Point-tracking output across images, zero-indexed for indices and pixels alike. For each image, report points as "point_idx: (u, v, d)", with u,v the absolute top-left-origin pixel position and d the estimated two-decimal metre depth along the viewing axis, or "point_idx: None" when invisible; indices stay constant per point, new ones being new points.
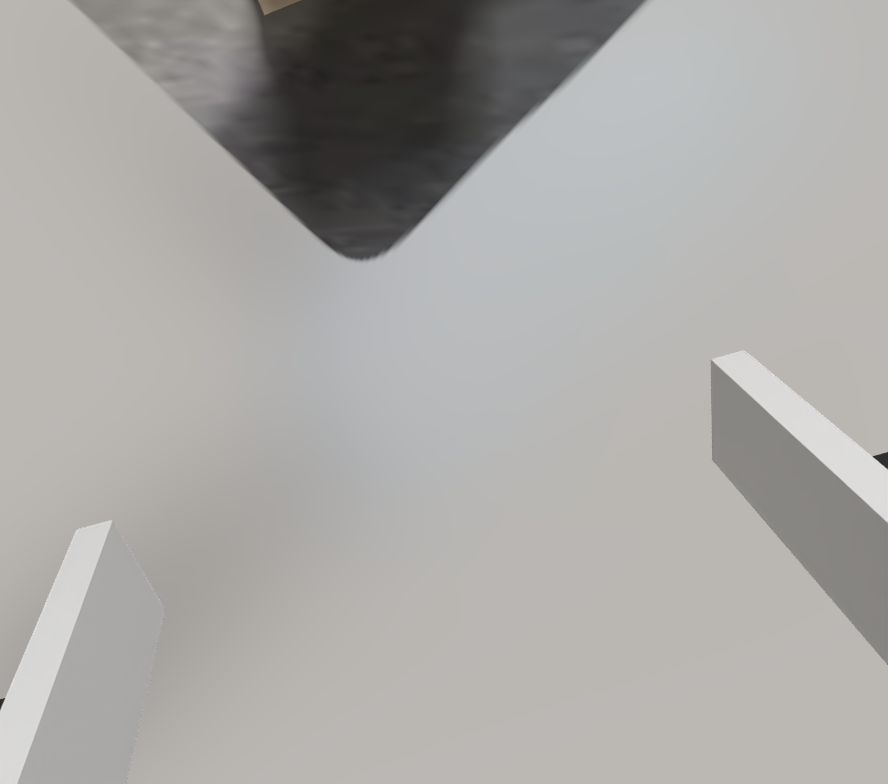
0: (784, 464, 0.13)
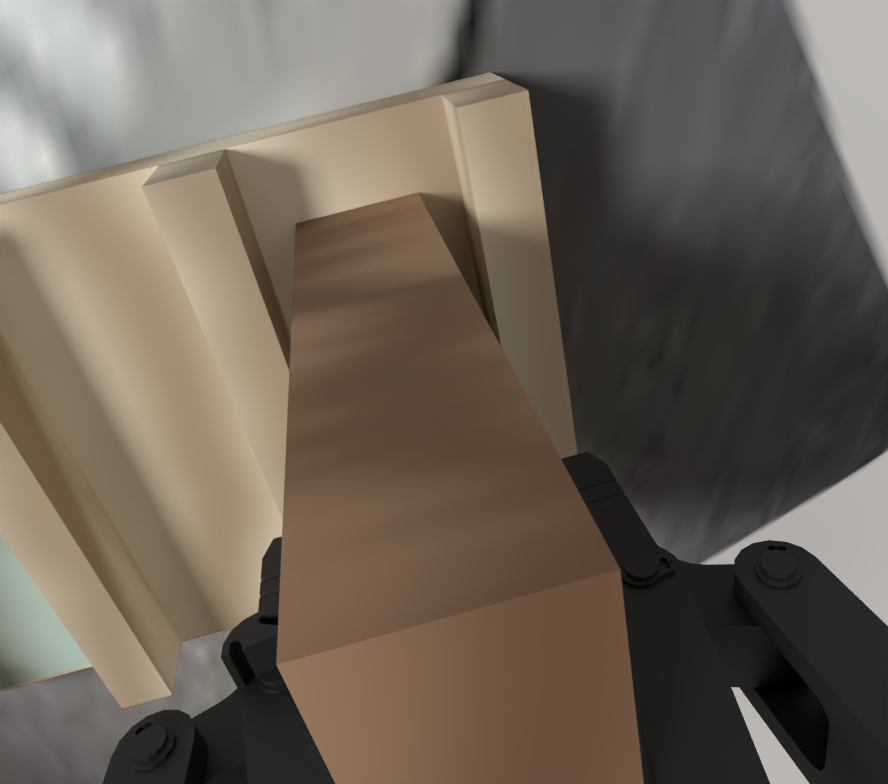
0: None
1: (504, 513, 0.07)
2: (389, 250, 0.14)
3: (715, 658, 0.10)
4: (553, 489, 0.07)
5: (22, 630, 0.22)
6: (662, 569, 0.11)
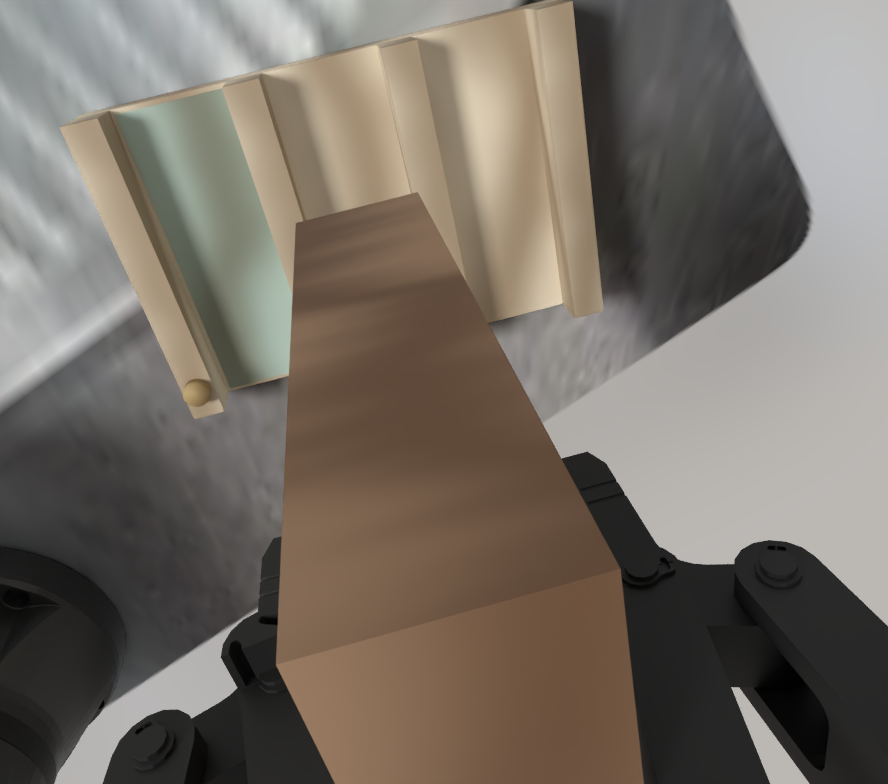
0: None
1: (504, 512, 0.07)
2: (388, 250, 0.14)
3: (715, 658, 0.10)
4: (553, 488, 0.07)
5: (260, 343, 0.36)
6: (662, 569, 0.11)
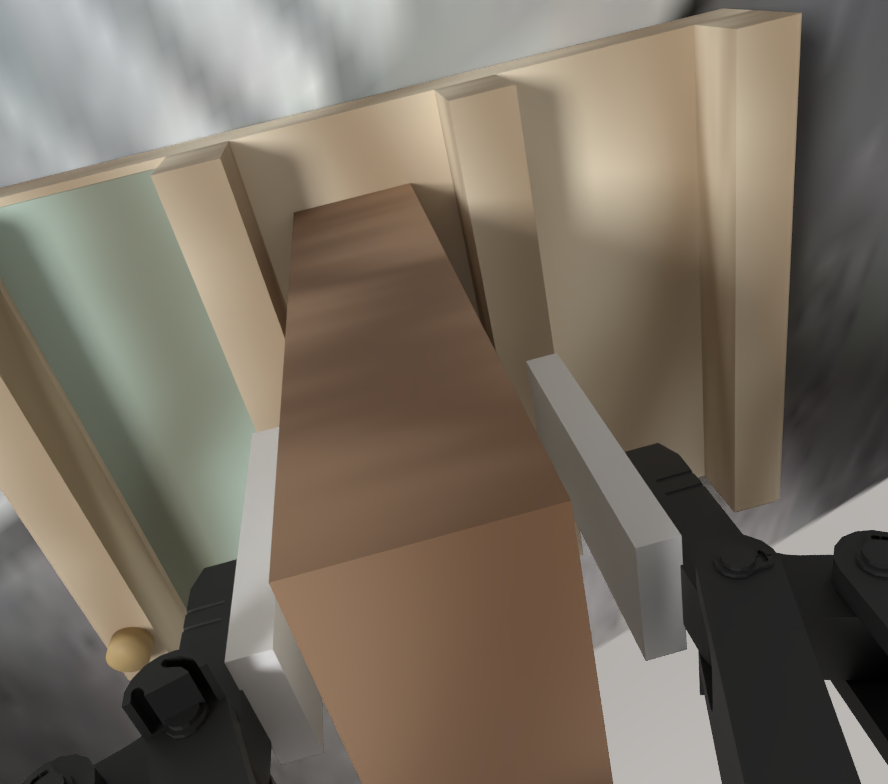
0: (567, 455, 0.15)
1: (474, 458, 0.08)
2: (380, 235, 0.15)
3: (811, 655, 0.09)
4: (518, 438, 0.08)
5: (236, 551, 0.23)
6: (759, 561, 0.11)
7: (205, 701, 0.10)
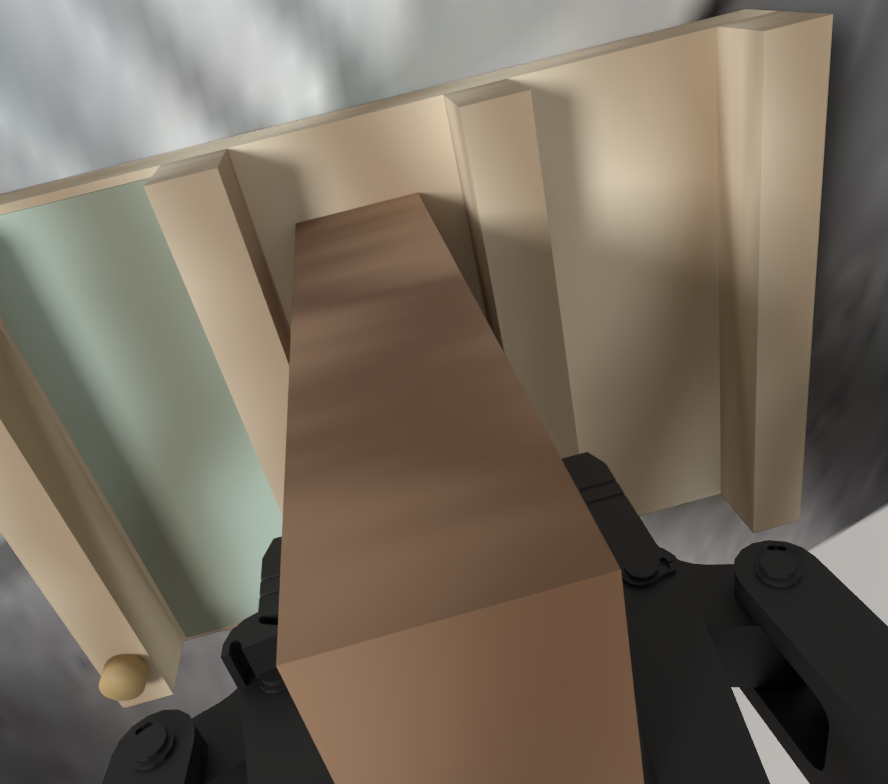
0: None
1: (505, 513, 0.07)
2: (389, 250, 0.14)
3: (715, 658, 0.10)
4: (553, 490, 0.07)
5: (235, 572, 0.22)
6: (662, 569, 0.11)
7: None
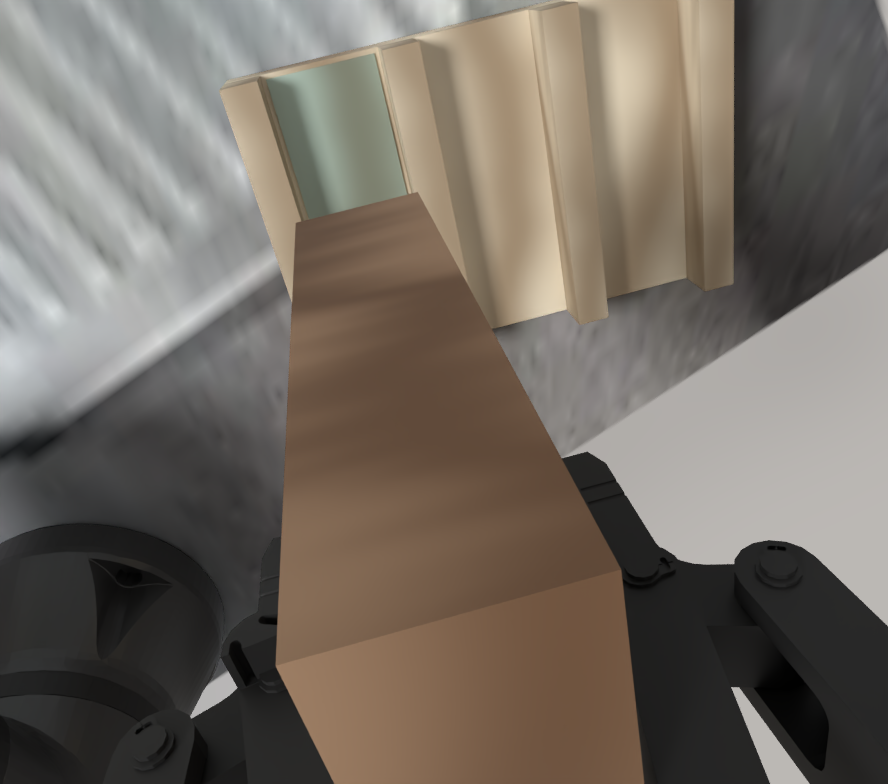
0: None
1: (504, 512, 0.07)
2: (389, 250, 0.14)
3: (715, 658, 0.10)
4: (554, 489, 0.07)
5: None
6: (662, 569, 0.11)
7: None
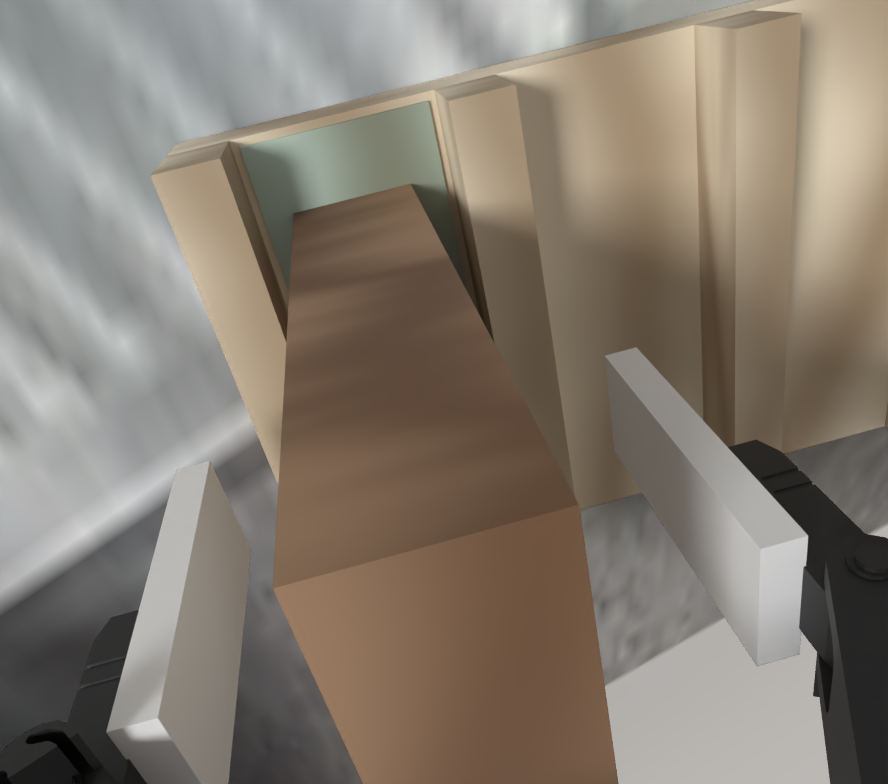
0: (658, 453, 0.14)
1: (479, 460, 0.08)
2: (381, 236, 0.15)
3: None
4: (523, 441, 0.08)
5: None
6: None
7: (79, 773, 0.10)
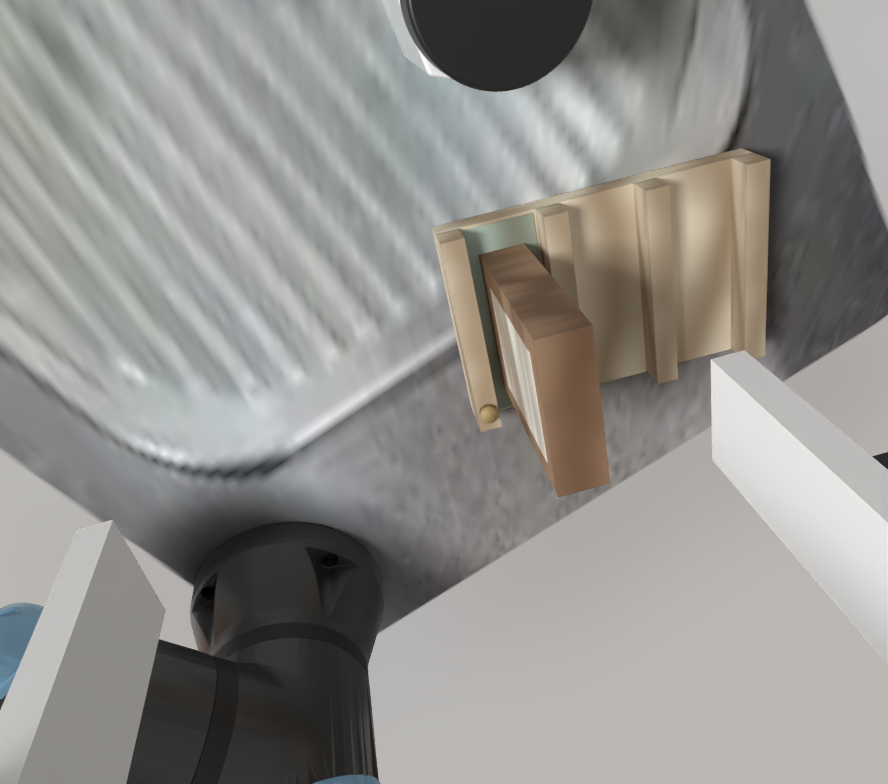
0: (784, 464, 0.13)
1: (570, 319, 0.36)
2: (521, 265, 0.43)
3: None
4: (580, 316, 0.36)
5: None
6: None
7: None
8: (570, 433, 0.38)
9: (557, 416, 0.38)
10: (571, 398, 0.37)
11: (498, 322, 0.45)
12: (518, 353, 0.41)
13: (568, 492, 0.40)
